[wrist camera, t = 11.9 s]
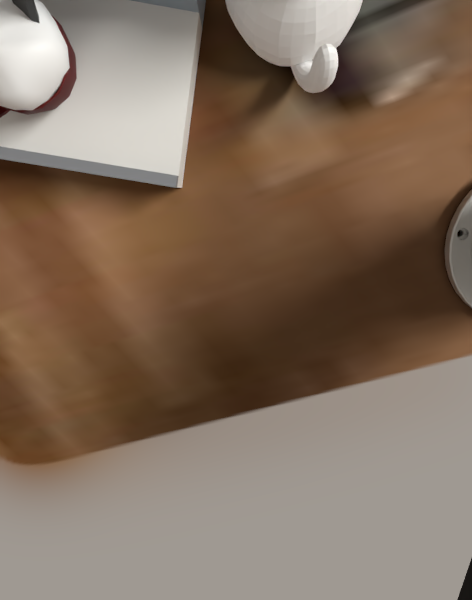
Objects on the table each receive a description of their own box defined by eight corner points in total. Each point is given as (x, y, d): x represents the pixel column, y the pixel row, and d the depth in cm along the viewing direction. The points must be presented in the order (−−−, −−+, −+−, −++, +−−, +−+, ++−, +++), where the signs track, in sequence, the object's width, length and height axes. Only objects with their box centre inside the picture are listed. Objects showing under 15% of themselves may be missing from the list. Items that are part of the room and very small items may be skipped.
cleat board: (206, -3, 31) (189, -117, 20) (182, 187, 34) (154, 187, 23) (-57, -51, 31) (-236, -198, 19) (-58, 148, 34) (-213, 127, 22)
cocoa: (15, 143, 31) (-119, 132, 20) (-39, 52, 30) (-220, -18, 18) (134, 75, 30) (64, 20, 18) (83, -24, 28) (-28, -152, 17)
